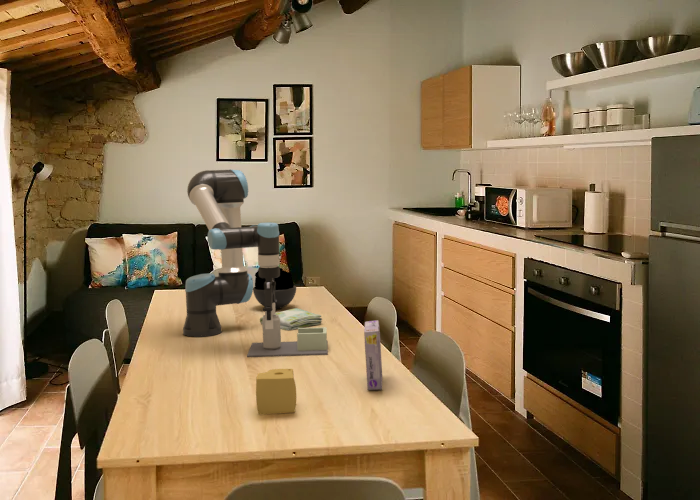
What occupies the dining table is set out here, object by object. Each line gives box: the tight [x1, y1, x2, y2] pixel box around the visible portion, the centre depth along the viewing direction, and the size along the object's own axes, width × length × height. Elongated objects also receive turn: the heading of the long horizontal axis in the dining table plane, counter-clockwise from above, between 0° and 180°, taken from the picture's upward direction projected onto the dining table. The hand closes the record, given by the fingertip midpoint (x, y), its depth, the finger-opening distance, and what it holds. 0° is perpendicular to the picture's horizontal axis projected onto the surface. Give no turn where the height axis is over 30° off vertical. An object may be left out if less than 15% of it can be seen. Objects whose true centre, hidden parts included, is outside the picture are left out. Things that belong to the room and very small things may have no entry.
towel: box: [259, 307, 323, 331], centre depth 333 cm, size 18×21×5 cm
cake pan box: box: [363, 319, 383, 391], centre depth 241 cm, size 19×5×18 cm, turn 178°
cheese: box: [255, 368, 297, 416], centre depth 218 cm, size 10×11×10 cm
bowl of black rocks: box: [252, 267, 297, 310], centre depth 369 cm, size 20×20×19 cm
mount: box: [246, 326, 329, 358], centre depth 287 cm, size 20×28×7 cm
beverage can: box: [261, 314, 282, 350], centre depth 287 cm, size 6×6×12 cm
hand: (270, 324), depth 287 cm, fingers open, 13 cm apart
